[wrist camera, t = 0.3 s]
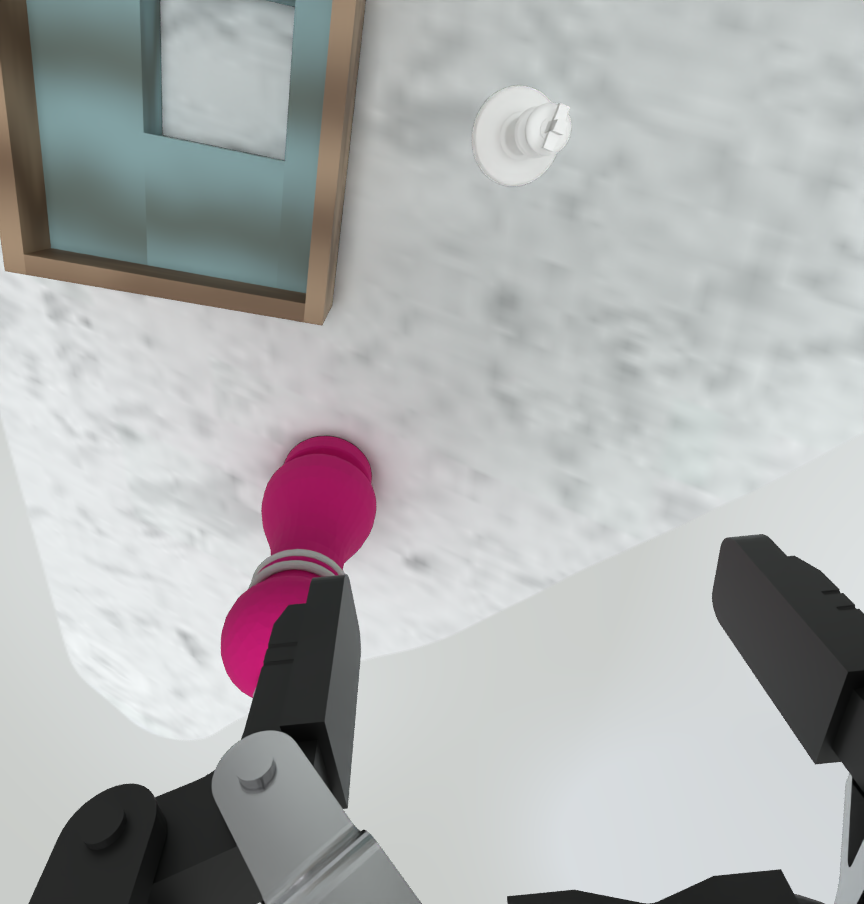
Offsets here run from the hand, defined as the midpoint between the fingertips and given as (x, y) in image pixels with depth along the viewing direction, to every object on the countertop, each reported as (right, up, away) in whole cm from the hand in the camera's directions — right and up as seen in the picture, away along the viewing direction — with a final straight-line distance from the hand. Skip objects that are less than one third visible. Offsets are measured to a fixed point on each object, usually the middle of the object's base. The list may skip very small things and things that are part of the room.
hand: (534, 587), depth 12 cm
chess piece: (+2, +21, +20) cm, 29 cm away
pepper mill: (-10, +1, +29) cm, 30 cm away
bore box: (-14, +23, +17) cm, 32 cm away
